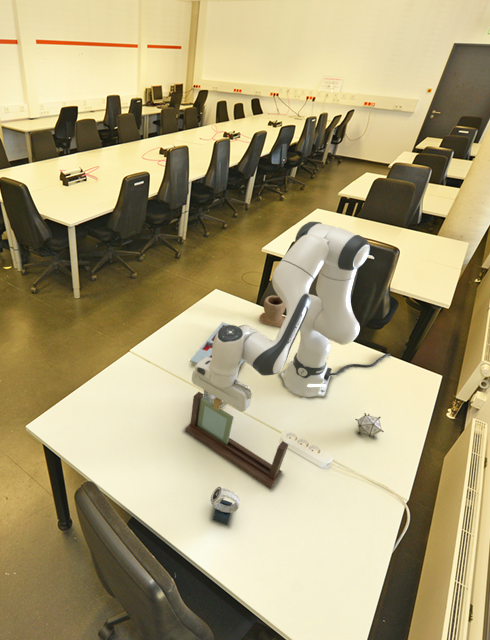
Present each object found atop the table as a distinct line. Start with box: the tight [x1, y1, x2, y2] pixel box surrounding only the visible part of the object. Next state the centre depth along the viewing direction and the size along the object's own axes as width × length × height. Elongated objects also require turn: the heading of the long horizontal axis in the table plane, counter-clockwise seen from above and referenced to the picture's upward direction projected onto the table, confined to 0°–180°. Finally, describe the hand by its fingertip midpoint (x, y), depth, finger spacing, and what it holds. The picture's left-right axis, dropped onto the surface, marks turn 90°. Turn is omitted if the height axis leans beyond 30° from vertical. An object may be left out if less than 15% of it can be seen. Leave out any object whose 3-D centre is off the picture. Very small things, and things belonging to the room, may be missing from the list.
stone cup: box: [258, 294, 286, 328], centre depth 194 cm, size 15×12×15 cm
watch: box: [210, 486, 240, 526], centre depth 113 cm, size 6×8×11 cm
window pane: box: [197, 397, 235, 445], centre depth 132 cm, size 1×12×18 cm, turn 48°
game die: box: [355, 412, 384, 438], centre depth 140 cm, size 9×8×10 cm
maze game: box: [189, 321, 245, 369], centre depth 178 cm, size 35×20×3 cm, turn 148°
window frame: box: [184, 391, 289, 490], centre depth 129 cm, size 7×34×17 cm, turn 48°
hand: (217, 404), depth 128 cm, fingers closed on window pane, 2 cm apart
